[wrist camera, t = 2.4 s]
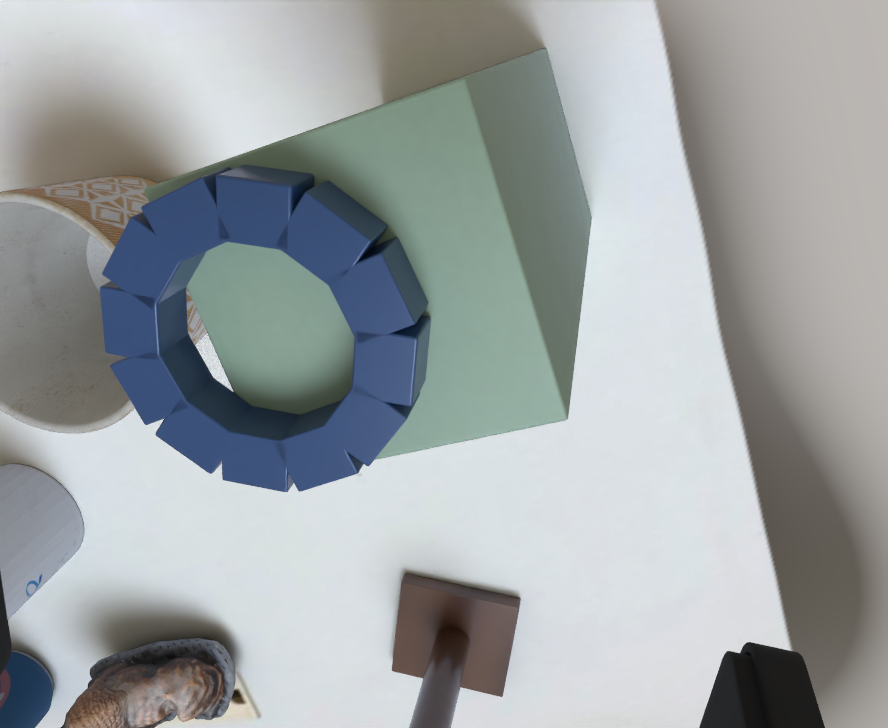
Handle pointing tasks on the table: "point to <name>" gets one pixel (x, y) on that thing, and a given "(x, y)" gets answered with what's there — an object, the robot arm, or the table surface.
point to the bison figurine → (156, 686)
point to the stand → (452, 644)
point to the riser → (425, 258)
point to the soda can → (24, 691)
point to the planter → (64, 302)
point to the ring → (315, 248)
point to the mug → (34, 531)
